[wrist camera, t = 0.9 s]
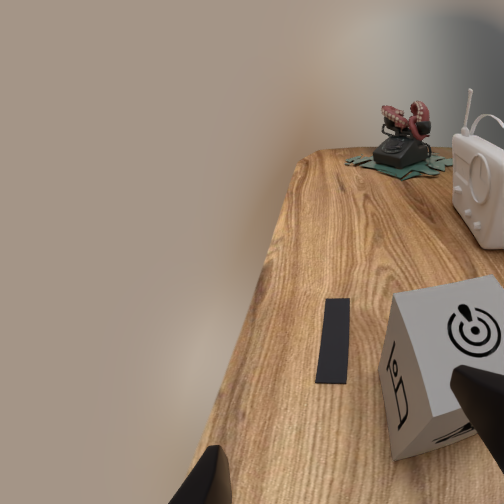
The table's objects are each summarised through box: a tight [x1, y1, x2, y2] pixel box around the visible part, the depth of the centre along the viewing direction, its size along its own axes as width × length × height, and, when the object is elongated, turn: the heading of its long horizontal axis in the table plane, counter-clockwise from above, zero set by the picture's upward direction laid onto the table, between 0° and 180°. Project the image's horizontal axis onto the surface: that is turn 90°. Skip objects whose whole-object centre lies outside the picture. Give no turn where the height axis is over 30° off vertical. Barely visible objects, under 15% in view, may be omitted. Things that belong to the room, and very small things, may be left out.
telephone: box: [345, 101, 453, 181], centre depth 69 cm, size 35×32×20 cm
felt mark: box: [315, 298, 350, 384], centre depth 28 cm, size 12×3×1 cm, turn 165°
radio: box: [452, 89, 504, 249], centre depth 32 cm, size 22×8×25 cm, turn 162°
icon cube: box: [378, 274, 504, 461], centre depth 15 cm, size 10×10×10 cm
